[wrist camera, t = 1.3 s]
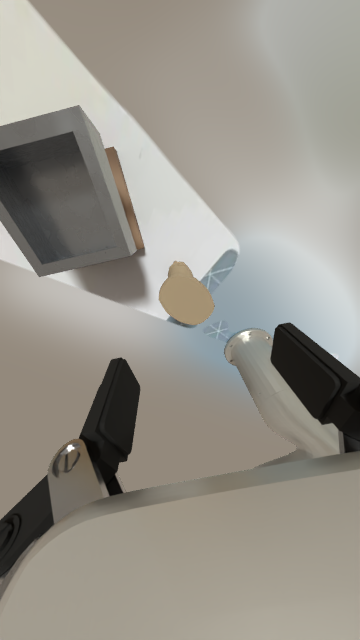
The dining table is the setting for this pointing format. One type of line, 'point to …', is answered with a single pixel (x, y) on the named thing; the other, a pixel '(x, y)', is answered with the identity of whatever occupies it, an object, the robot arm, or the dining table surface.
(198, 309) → the handle
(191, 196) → the dining table surface
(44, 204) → the grey open box
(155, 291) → the dining table surface
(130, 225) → the stand
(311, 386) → the robot arm
